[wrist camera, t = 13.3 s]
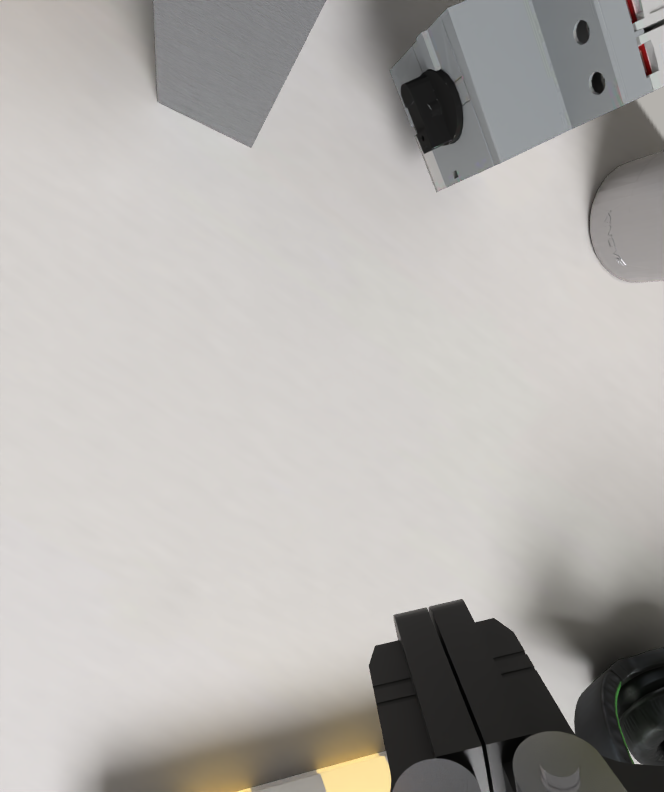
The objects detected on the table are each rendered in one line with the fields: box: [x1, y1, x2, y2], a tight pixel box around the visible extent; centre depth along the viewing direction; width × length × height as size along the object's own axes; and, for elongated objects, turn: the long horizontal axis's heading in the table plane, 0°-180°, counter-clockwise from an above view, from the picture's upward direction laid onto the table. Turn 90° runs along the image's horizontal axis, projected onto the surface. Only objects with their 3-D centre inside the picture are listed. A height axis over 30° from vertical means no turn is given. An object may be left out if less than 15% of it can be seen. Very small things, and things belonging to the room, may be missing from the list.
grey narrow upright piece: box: [390, 0, 664, 192], centre depth 33 cm, size 8×14×15 cm, turn 115°
